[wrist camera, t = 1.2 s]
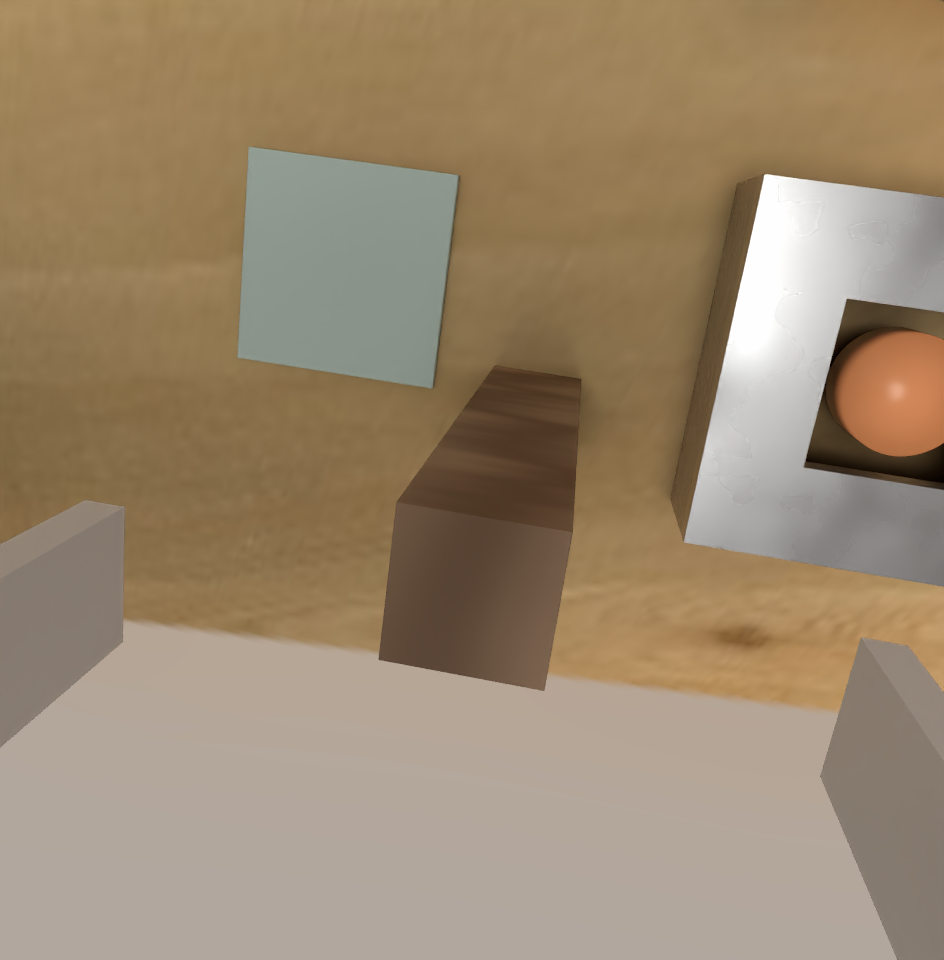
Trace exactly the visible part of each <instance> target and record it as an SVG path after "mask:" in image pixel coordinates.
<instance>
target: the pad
mask: <svg viewBox="0 0 944 960" xmlns="http://www.w3.org/2000/svg"><path fill="white" fill-rule="evenodd" d="M459 177H460V176H459V175H454V174H447V173H439V172H432V171H425V170H417V169H410V168H403V167H395V166H388V165H380V164H373V163H366V162H358V161H351V160H344V159H336V158H329V157H321V156H314V155H307V154H299V153H292V152H285V151H277V150H270V149H263V148H255V147H249V154H248V172H247V191H246V209H245V228H244V246H243V265H242V283H241V302H240V320H239V339H238V358H243V359H249V360H255V361H262V362H268V363H274V364H281V365H287V366H293V367H300V368H306V369H312V370H319V371H325V372H331V373H338V374H344V375H350V376H356V377H363V378H369V379H375V380H382V381H388V382H394V383H401V384H407V385H413V386H420V387H426V388H433V387H434V382H435V374H436V365H437V357H438V349H439V341H440V333H441V324H442V316H443V308H444V300H445V292H446V284H447V275H448V267H449V259H450V251H451V243H452V235H453V226H454V218H455V210H456V202H457V194H458V186H459Z"/></svg>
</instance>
